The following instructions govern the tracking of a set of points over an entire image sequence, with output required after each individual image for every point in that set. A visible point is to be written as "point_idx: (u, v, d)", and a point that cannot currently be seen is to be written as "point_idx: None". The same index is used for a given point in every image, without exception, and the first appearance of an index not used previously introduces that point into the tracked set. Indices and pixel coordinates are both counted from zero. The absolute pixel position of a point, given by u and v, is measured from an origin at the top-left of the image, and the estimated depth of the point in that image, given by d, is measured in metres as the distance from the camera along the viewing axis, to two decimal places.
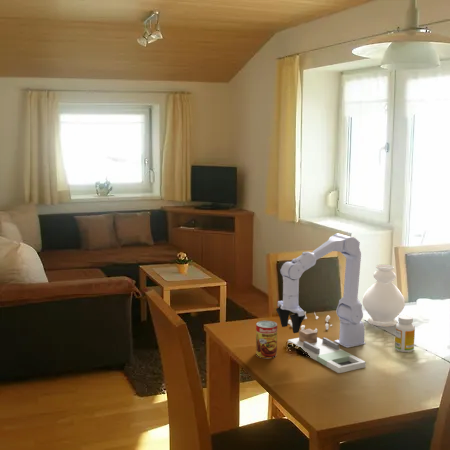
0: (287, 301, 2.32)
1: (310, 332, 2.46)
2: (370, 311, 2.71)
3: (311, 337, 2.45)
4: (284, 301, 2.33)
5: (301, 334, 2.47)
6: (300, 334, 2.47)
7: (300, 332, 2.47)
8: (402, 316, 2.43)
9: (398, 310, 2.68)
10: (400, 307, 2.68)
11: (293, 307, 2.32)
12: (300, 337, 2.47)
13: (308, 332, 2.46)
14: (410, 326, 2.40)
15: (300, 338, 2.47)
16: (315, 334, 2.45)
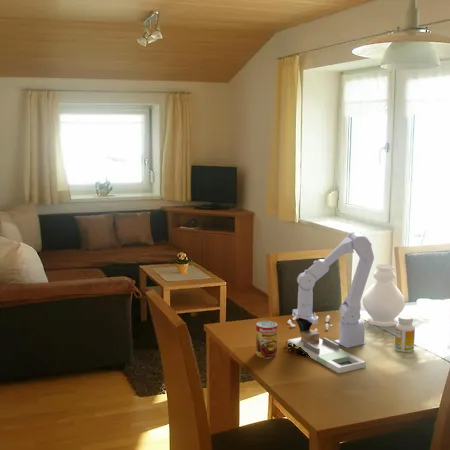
0: (302, 310, 2.45)
1: (313, 333, 2.44)
2: (370, 311, 2.71)
3: (313, 339, 2.43)
4: (299, 310, 2.46)
5: (303, 335, 2.45)
6: (302, 335, 2.46)
7: (302, 333, 2.46)
8: (402, 316, 2.43)
9: (398, 310, 2.68)
10: (400, 307, 2.68)
11: (307, 316, 2.45)
12: (302, 338, 2.46)
13: (310, 333, 2.44)
14: (410, 326, 2.40)
15: (302, 339, 2.46)
16: (317, 335, 2.44)
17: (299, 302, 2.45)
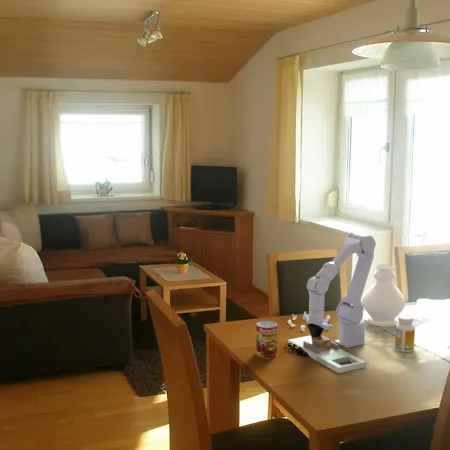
0: (313, 315, 2.38)
1: (324, 339, 2.38)
2: (370, 311, 2.71)
3: (324, 345, 2.37)
4: (310, 315, 2.39)
5: (314, 342, 2.39)
6: (313, 341, 2.39)
7: (313, 339, 2.39)
8: (402, 316, 2.43)
9: (398, 310, 2.68)
10: (400, 307, 2.68)
11: (319, 321, 2.38)
12: (313, 344, 2.39)
13: (322, 339, 2.38)
14: (410, 326, 2.40)
15: None
16: (329, 341, 2.37)
17: (313, 308, 2.38)
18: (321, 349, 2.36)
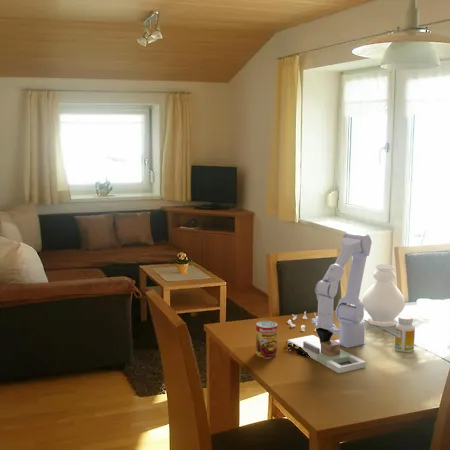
0: (322, 319, 2.33)
1: (333, 344, 2.33)
2: (370, 311, 2.71)
3: (333, 350, 2.32)
4: (319, 319, 2.34)
5: (323, 346, 2.34)
6: (322, 346, 2.34)
7: (322, 344, 2.34)
8: (402, 316, 2.43)
9: (398, 310, 2.68)
10: (400, 307, 2.68)
11: (328, 325, 2.33)
12: (322, 349, 2.34)
13: (331, 344, 2.33)
14: (410, 326, 2.40)
15: (322, 350, 2.35)
16: (338, 346, 2.32)
17: (324, 312, 2.33)
18: (330, 354, 2.31)
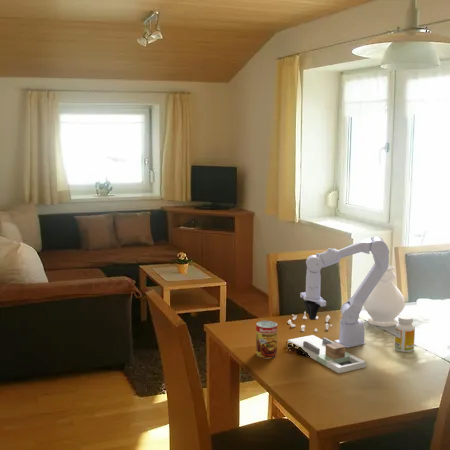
0: (310, 292, 2.46)
1: (338, 346, 2.30)
2: (370, 311, 2.71)
3: (338, 352, 2.29)
4: (307, 292, 2.47)
5: (328, 349, 2.31)
6: (327, 348, 2.32)
7: (327, 346, 2.32)
8: (402, 316, 2.43)
9: (398, 310, 2.68)
10: (400, 307, 2.68)
11: (315, 298, 2.46)
12: (327, 352, 2.32)
13: (336, 346, 2.30)
14: (410, 326, 2.40)
15: (326, 352, 2.32)
16: (343, 349, 2.30)
17: (306, 284, 2.47)
18: (335, 357, 2.29)
